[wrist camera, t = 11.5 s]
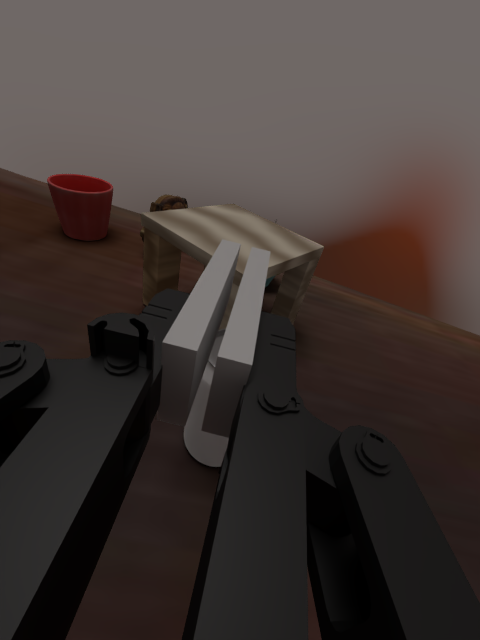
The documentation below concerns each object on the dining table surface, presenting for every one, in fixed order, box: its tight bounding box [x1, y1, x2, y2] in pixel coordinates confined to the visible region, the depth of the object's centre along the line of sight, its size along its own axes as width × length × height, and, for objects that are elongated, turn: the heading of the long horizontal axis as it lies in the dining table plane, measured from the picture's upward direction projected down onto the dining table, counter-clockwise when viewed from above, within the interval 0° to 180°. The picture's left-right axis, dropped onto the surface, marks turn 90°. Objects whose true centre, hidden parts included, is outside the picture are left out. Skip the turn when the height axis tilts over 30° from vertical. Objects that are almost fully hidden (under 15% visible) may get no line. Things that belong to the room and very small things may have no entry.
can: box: [184, 328, 229, 467], centre depth 26 cm, size 6×6×12 cm
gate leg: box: [143, 227, 207, 306], centre depth 39 cm, size 13×4×12 cm, turn 45°
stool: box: [141, 204, 324, 330], centre depth 42 cm, size 17×17×14 cm
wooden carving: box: [140, 195, 188, 242], centre depth 60 cm, size 16×5×10 cm, turn 163°
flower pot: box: [47, 174, 113, 241], centre depth 56 cm, size 11×11×10 cm
